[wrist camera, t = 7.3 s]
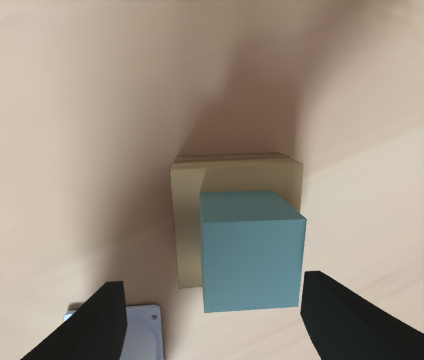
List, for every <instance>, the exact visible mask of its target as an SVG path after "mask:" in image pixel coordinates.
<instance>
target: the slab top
mask: <svg viewBox="0 0 424 360" xmlns="http://www.w3.org/2000/svg"><path fill="white" fill-rule="evenodd" d="M302 168H303V164H302V163H300V162H297V161H294V160H292V159H289V158H270V159H248V160H226V161H205V162H183V163H173V164H172V166H171V169H170V177H171V190H172V203H173V217H174V230H175V243H176V256H177V270H178V283H179V289H181V288H192V287H203V286H202V271H201V248H200V192H233V191H272V190H273V191H274V192H275V193H276V194H277V195H279V196H280V197H281V198H282V199H283V200H285V201H286V202H287V203H288V204H289V205H290V206H292V207H293V208H294V209H295V210H296V211H298V212H299V213H300V202H301V185H302Z"/></svg>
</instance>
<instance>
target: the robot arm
mask: <svg viewBox="0 0 424 360" xmlns="http://www.w3.org/2000/svg"><path fill="white" fill-rule="evenodd" d="M300 314H301V317H302V319H303V322H304V324H305V327H306V329H307V332H308V334H309V336H310V339H311V341H312V343H313V345H314V347H315V348H316V350H317V352H318V354H319V356H320V358H321V359H322V360H424V334H423V333H421V332H420V331H418V330H416V329H414V328H412V327H411V326H409V325H407V324H405V323H404V322H402V321H400V320H398V319H397V318H395V317H393V316H391V315H390V314H388V313H386V312H385V311H383V310H381V309H380V308H378V307H377V306H375V305H373V304H372V303H370V302H368V301H367V300H365V299H364V298H362V297H361V296H359V295H357V294H356V293H354V292H353V291H351V290H350V289H348V288H347V287H345V286H343V285H342V284H340V283H339V282H337V281H336V280H334V279H332V278H331V277H329V276H328V275H326V274H324V273H322V272H321V271H305V275H304V284H303V293H302V303H301V312H300ZM152 315H156V316H152ZM63 320H64V323H63V324H61V325H60V326H59V327H58V328H57V329H56V330H55V331H53V332H52V333H51V334H50V335H49V336H48V337H46V338H45V339H44V340H43V341H42V342H41V343H40V344H38V345H37V346H36V347H35V348H34V349H33V350H31V351H30V352H29V353H28V354H27V355H25V356H24V357H23V358H22V359H20V360H164V356H163V342H162V328H161V315H160V307H159V306H157V305H143V306H129V307H126V304H125V295H124V286H123V281H116V282H106V283H105V284H104V285H103V286H102V287H101V288H100V289H99V290H98V291H97V292H96V293H94V294H93V295H92V296H91V297H90V298H89V299H88V300H87V301H86V302H85V303H84V304H83V305H82V306H81V307H80V308H79V309H78V310H73V311H68V312H66V314H65V315H64V317H63Z"/></svg>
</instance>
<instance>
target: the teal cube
mask: <svg viewBox="0 0 424 360" xmlns="http://www.w3.org/2000/svg"><path fill="white" fill-rule="evenodd" d="M306 221H307V219H306V218H305V217H303V216H302V215H301V214H300V213H299V212H298V211H296V210H295V209H294V208H293V207H292V206H290V205H289V204H288V203H287V202H286V201H285V200H283V199H282V198H281V197H280V196H279V195H277V194H276V193H275V192H274V191H273V190H272V191H233V192H200V248H201V271H202V286H203V300H204V313H211V312H226V311H240V310H255V309H270V308H285V307H298V302H299V292H300V282H301V272H302V262H303V251H304V241H305V231H306Z"/></svg>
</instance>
